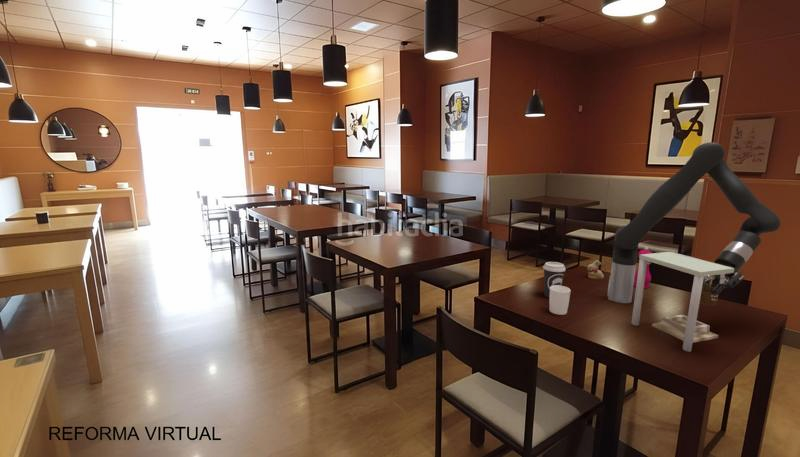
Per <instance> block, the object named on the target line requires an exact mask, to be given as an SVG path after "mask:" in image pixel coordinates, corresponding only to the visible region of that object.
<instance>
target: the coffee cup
mask: <svg viewBox="0 0 800 457" xmlns="http://www.w3.org/2000/svg"><path fill="white" fill-rule="evenodd" d="M542 269H543V284H544V285H543V289H544V290H543V292H544V295H543V296H545V297H547V298H549V297H550V287H551V286H555V285H558V286H563V281H564V276H565V272H566V271H567V270H566V267H565V264H564V263H561V262H557V261H547V262H545V263H544V265H543V266H542Z"/></svg>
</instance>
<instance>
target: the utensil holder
mask: <svg viewBox="0 0 800 457" xmlns="http://www.w3.org/2000/svg"><path fill="white" fill-rule="evenodd" d="M715 276H716V275H714V277H713V275H712V276H710V279H709V280H710V282H705V280H704V282H705V283H703V285H702V290H701V296H700V302H699V305H704V306H709V307H714V306H717V303H718V298H719V294H717V295H714V294H713V293H712V290H713V289H714V288H715V287H716V285H717V284H713V280H714V281H715V279H716V278H715ZM706 277H707V276H706ZM706 277H704V278H706Z"/></svg>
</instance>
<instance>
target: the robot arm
mask: <svg viewBox="0 0 800 457" xmlns="http://www.w3.org/2000/svg"><path fill="white" fill-rule="evenodd" d="M725 153H726V152H725V148H724V147H723V145H721V144H720V143H718V142H715V141H714V142H711V141H710V142H705V143H702V144H699V145H698V146H697V147H695V148H694V150H692V155H691V157H690V158H689V159H688V160H687V161H686V163H685V164H684V165H683V166H682V168H680V169H679V170H678V171H677V172H676V173H675V174H673V175H672V176H670V178H668V179H667V180H665V182H663V184H661V185H660V186H659V187H658V188H657V189H656V190H655V191H654V192H653V193H652V195H651V196H650V197H649V198H648V199H647V200H646V201H645V203H644V204H643V206H642V208H641V209H640V210H639V212H638V214H637V215H636V216H635V217H634V218H633V219H632V220H631V221H630V222H629V223H627V225H622V226H620V227H619V228H618V229H617V230H616V231H615V233H614V240H613V249H612V250H613V251H612V258H611V259H612V261H611V267H610V268H611V269H610V275H609V279H608V287H607V300H608V301H612V302H614V303H619V304H630V303H632V300H633V292H634V287H635V286H634V282H635V279H634V278H635V272H636V271H637V270H636V269H637V263H638V252H639V251H638V250H639V244H640V243H641V241H642V240H643V239H644V238H645V236H646V235H647V234H648V232H650V230H651V229H653V227H654V226H655V225H656V224H658V223H659V222H660V221H661V220H662V219H664V218H665V217H666V216H667V215H668V214H669V213H670V212H671V211H673V210H674V208H675V207H676V206H677V205H679V203H680V202H681V201H682V200H683V199H684V198H685V197H686V196H687V195H688V193H689V192H690V191H691V190H692V188H694V186H695V185H696V184H697V183H698V182H699V181H700V180H701V179H702V178H703V177H704V176H705V175H706V174H708V175H709V177H710V178H711V179H712V180H713V181H714V182H715V183H716V185H717V186H718V188H719V189H720V190H721V192H722V193H723V194H724V196H725V197H726V198H727V200H728V201H729V203H730V204H731V205H732V206H733V208H734V209H735V211H736V212H738V213H739V214H744V215H745V214H746V215H748V216H750V217H748V218H746V219H745V220H744V221H743V222H742V224H741V226H740V227H739V228H740V229H739V230H738V234H737V235H736V236H734V238H733V239H732V240H731V242H730V243H729V244H727V245H726V247H725V248H724V249H723V250H722V251H721V252H720V253H719V255H718V256H717V257H716V258H715V259H714V262H713V263H716V264H720V265H724V266H727V267H731V268H734V273H727V274H719V275H716V276H715V279H716V278H717V279H719V283H717V284H715V285H716V287H715V288H714V289H713V290H712V293H713V294H714V295H717V294H718V295H720V293H721V292H722V291H723V290H724V289H725V288H728V289H733V288H734V287H735V286H737V285H738V284H739V283H741V282H742V281H744V279H745V276H744V275H743V273H742V272H739V271H740V270H741V269H742V268H743V266H745V264H746V263H747V261H749V260H750V258H751V257H752V255H753V253H754V252H755V250H756V249H757V248H758V247H759V246H760V245H761V243H762V239H761V237H760V236H761V234H768V233H773V232H776V231H778V230H779V229H780V227H781V220H780V218H779V216H778V214H776V213H775V212H774V211H773V210H772V209H770V208H769V207H767V206H766V205H765V204H764V203H762V202H761V201H759V199H758V198H757V196H755V194H754V193H753V192H752V190H751V188H749V187H748V186H747V185H746V184H745V183H744V182H743V181H742V180H741V179H740V178H739V177H738V176H737V174H735V173H734V172H733V170H732V169H731V168H730V167H729V165H728V163H726V161H725V158H724V157H725V156H726V155H725ZM711 276H712V275H711ZM704 277H706V276H704ZM713 277H714V275H713ZM704 280H705V282H704ZM710 280H711V279H710V276H707V277H706V278H704V279H703V283H707V281H710Z"/></svg>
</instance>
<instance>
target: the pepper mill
mask: <svg viewBox="0 0 800 457" xmlns="http://www.w3.org/2000/svg"><path fill="white" fill-rule="evenodd" d="M652 253H653V252H652V251H650V250H649V247H647V246H645V247H644V248H643V249H641V250H639V251H638V252H637V258H639V257H640V255H641V254H652ZM639 262H640V259H638V260H637V263H639ZM650 264H651V262H649V261H647V268H646V275H645V282H644V289H649V288H650V282H651V281H652V275H651V272H650ZM638 270H639V267H638V268H637V270H636V271H635V278H634V286H633V287H635V286H636V285H637V277H638Z"/></svg>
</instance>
